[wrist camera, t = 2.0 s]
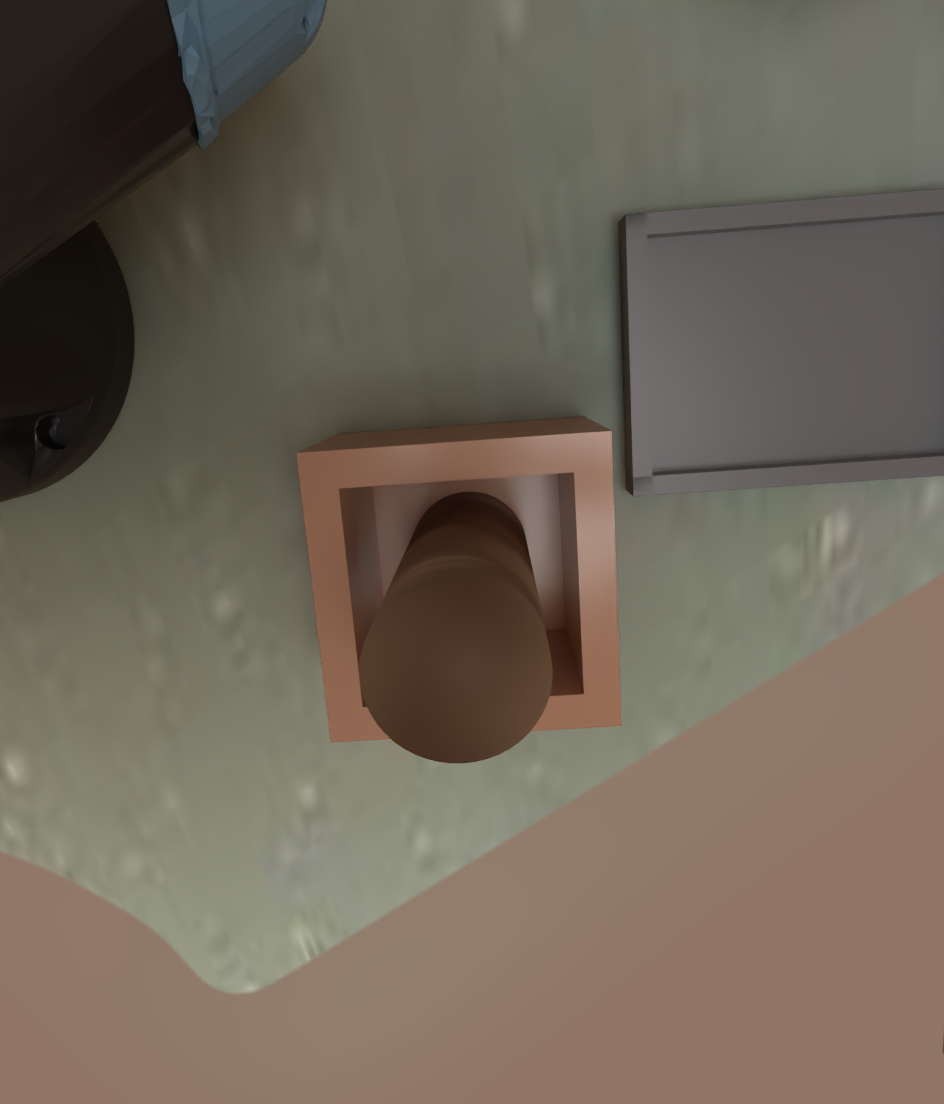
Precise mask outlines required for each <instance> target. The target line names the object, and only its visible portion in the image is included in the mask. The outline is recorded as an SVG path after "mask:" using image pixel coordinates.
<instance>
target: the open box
mask: <svg viewBox="0 0 944 1104" xmlns="http://www.w3.org/2000/svg"><path fill="white" fill-rule="evenodd" d="M296 455H297V463H298V471H299V480H300V488H301V496H302V505H303V513H304V522H305V530H306V538H307V547H308V555H309V563H310V572H311V580H312V588H313V597H314V605H315V614H316V622H317V630H318V639H319V647H320V655H321V664H322V672H323V680H324V689H325V697H326V706H327V714H328V722H329V731H330V739H331V742H344V741H362V740H380V739H391V738H389V737H388V736H387V735H386V734H385V733H384V732H383V731H382V729H381V728H380V727H379V726H378V725H377V723H376V722H375V720H374V719H373V717H372V716H371V714H370V712H369V710H368V708H367V706H366V704H365V701H364V698H363V695H362V691H361V686H360V679H359V664H360V656H361V651H362V647H363V644H364V641H365V639H366V636H367V634H368V632H369V629H370V627H371V625H372V623H373V621H374V618H375V616H376V614H377V612H378V610H379V608H380V605H381V603H382V601H383V599H384V597H385V594H386V592H387V590H388V588H389V586H390V584H391V581H392V579H393V577H394V575H395V573H396V570H397V568H398V566H399V564H400V562H401V560H402V557H403V555H404V553H405V551H406V549H407V546H408V544H409V542H410V540H411V538H412V536H413V533H414V531H415V529H416V527H417V525H418V523H419V521H420V519H421V517H422V516H423V515H424V513H425V512H426V511H427V510H428V509H429V508H430V507H431V506H432V505H433V504H434V503H436V502H437V501H438V500H440V499H442V498H444V497H446V496H448V495H451V494H455V493H458V492H481V493H485V494H488V495H491V496H493V497H495V498H497V499H499V500H501V501H502V502H504V503H505V504H506V505H507V506H508V507H510V508H511V509H512V510H513V512H514V513H515V514H516V516H517V517H518V519H519V520H520V522H521V524H522V526H523V529H524V532H525V536H526V540H527V545H528V550H529V554H530V559H531V564H532V569H533V573H534V578H535V583H536V588H537V592H538V597H539V602H540V607H541V611H542V616H543V621H544V625H545V630H546V635H547V640H548V644H549V649H550V654H551V660H552V668H553V674H552V686H551V693H550V696H549V699H548V703H547V705H546V707H545V710H544V712H543V714H542V716H541V717H540V719H539V720H538V722H537V724H536V725H535V726H534V727H533V729H532V730H531V731H538V730H556V729H574V728H591V727H609V726H621V698H620V668H619V638H618V608H617V579H616V549H615V519H614V489H613V459H612V431H611V430H609V429H607V428H605V427H603V426H601V425H600V424H598V423H596V422H594V421H592V420H590V419H588V418H586V417H570V418H556V419H542V420H528V421H514V422H500V423H485V424H471V425H457V426H443V427H429V428H415V429H401V430H387V431H373V432H359V433H345V434H338V435H336V436H333V437H331V438H329V439H327V440H324V441H322V442H320V443H318V444H315V445H313V446H311V447H309V448H306V449H304V450H302V451H300V452H297V453H296Z"/></svg>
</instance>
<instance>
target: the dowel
mask: <svg viewBox="0 0 944 1104" xmlns="http://www.w3.org/2000/svg"><path fill="white" fill-rule="evenodd" d="M552 674H553V668H552V660H551V654H550V649H549V644H548V640H547V635H546V630H545V625H544V621H543V616H542V611H541V607H540V602H539V597H538V592H537V588H536V583H535V578H534V573H533V569H532V564H531V559H530V554H529V550H528V545H527V540H526V536H525V532H524V529H523V526H522V524H521V522H520V520H519V519H518V517H517V516H516V514H515V513H514V512H513V510H512V509H511V508H510V507H508V506H507V505H506V504H505V503H504V502H502V501H501V500H499V499H497V498H495V497H493V496H491V495H488V494H485V493H481V492H458V493H455V494H451V495H448V496H446V497H444V498H442V499H440V500H438V501H437V502H436V503H434V504H433V505H432V506H431V507H430V508H429V509H428V510H427V511H426V512H425V513H424V515H423V516H422V517H421V519H420V521H419V523H418V525H417V527H416V529H415V531H414V533H413V536H412V538H411V540H410V542H409V544H408V546H407V549H406V551H405V553H404V555H403V557H402V560H401V562H400V564H399V566H398V568H397V570H396V573H395V575H394V577H393V579H392V581H391V584H390V586H389V588H388V590H387V592H386V594H385V597H384V599H383V601H382V603H381V605H380V608H379V610H378V612H377V614H376V616H375V618H374V621H373V623H372V625H371V627H370V629H369V632H368V634H367V636H366V639H365V641H364V644H363V647H362V651H361V656H360V664H359V679H360V686H361V691H362V695H363V698H364V701H365V704H366V706H367V708H368V710H369V712H370V714H371V716H372V717H373V719H374V720H375V722H376V723H377V725H378V726H379V727H380V728H381V729H382V731H383V732H384V733H385V734H386V735H387V736H388V737H389V738H391V739H392V740H393V741H394V742H395V743H397V744H398V745H400V746H401V747H402V748H404V749H406V750H408V751H410V752H411V753H413V754H415V755H418V756H421V757H423V758H426V759H430V760H434V761H438V762H445V763H469V762H476V761H480V760H485V759H488V758H491V757H493V756H496V755H499V754H501V753H502V752H504V751H506V750H508V749H510V748H511V747H513V746H514V745H516V744H517V743H518V742H520V741H521V740H522V739H523V738H524V737H525V736H526V735H527V734H528V733H529V732H530V731H531V730H532V729H533V727H534V726H535V725H536V724H537V722H538V720H539V719H540V717H541V716H542V714H543V712H544V710H545V707H546V705H547V703H548V699H549V696H550V693H551V686H552Z"/></svg>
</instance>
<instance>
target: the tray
mask: <svg viewBox="0 0 944 1104" xmlns="http://www.w3.org/2000/svg"><path fill="white" fill-rule="evenodd" d="M618 223H619V257H620V290H621V323H622V357H623V390H624V423H625V457H626V490H627V491H628V492H629V493H630V494H632V495H633V496H646V495H661V494H676V493H691V492H706V491H721V490H736V489H750V488H765V487H780V486H795V485H810V484H825V483H840V482H854V481H869V480H884V479H899V478H914V477H929V476H944V189H935V190H923V191H911V192H898V193H886V194H873V195H861V196H848V197H836V198H823V199H811V200H799V201H786V202H774V203H761V204H749V205H736V206H724V207H711V208H699V209H686V210H674V211H662V212H649V213H637V214H626V215H625V216H624V217H623V218H622V219H621V220H620V221H619V222H618Z"/></svg>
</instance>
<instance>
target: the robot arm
mask: <svg viewBox="0 0 944 1104" xmlns="http://www.w3.org/2000/svg"><path fill="white" fill-rule="evenodd" d="M326 2H327V0H0V502H2V501H6V500H9V499H13V498H17V497H20V496H24V495H28V494H31V493H34V492H36V491H39V490H41V489H44V488H46V487H48V486H50V485H52V484H54V483H56V482H58V481H59V480H61V479H63V478H64V477H66V476H67V475H69V474H70V473H72V472H73V471H74V470H75V469H77V468H78V467H79V466H80V465H81V464H82V463H84V462H85V461H86V460H87V459H88V458H89V457H90V456H91V455H92V454H93V452H94V451H95V450H96V449H97V448H98V447H99V445H100V444H101V443H102V441H103V440H104V439H105V437H106V436H107V434H108V433H109V431H110V429H111V428H112V426H113V424H114V422H115V420H116V418H117V416H118V414H119V412H120V409H121V407H122V405H123V402H124V399H125V396H126V393H127V389H128V385H129V381H130V376H131V370H132V363H133V351H134V334H133V321H132V313H131V307H130V302H129V297H128V293H127V290H126V286H125V282H124V279H123V276H122V274H121V271H120V268H119V266H118V263H117V261H116V259H115V256H114V254H113V252H112V250H111V248H110V246H109V244H108V242H107V241H106V239H105V237H104V235H103V234H102V232H101V230H100V229H99V227H98V226H97V224H96V223H95V221H94V220H95V219H96V218H97V217H99V216H100V215H101V214H103V213H104V212H106V211H107V210H108V209H110V208H111V207H112V206H114V205H115V204H116V203H118V202H119V201H120V200H122V199H123V198H125V197H126V196H127V195H129V194H130V193H131V192H133V191H134V190H135V189H137V188H138V187H140V186H141V185H142V184H144V183H145V182H146V181H148V180H149V179H150V178H152V177H153V176H154V175H156V174H157V173H159V172H160V171H161V170H163V169H164V168H165V167H167V166H168V165H169V164H171V163H172V162H174V161H175V160H176V159H178V158H179V157H180V156H182V155H183V154H184V153H186V152H187V151H189V150H190V149H191V148H193V147H194V146H195V145H198V147H199V148H200V149H201V150H203V149H204V148H205V147H207V146H208V145H210V144H211V143H213V142H214V140H215V139H216V137H217V135H218V133H219V124H220V123H221V122H222V121H224V120H225V119H226V118H227V117H228V116H230V115H231V114H232V113H233V112H234V111H236V110H237V109H238V108H239V107H240V106H242V105H243V104H244V103H245V102H246V101H248V100H249V99H250V98H251V97H252V96H254V95H255V94H256V93H257V92H258V91H260V90H261V89H262V88H263V87H264V86H266V85H267V84H268V83H269V82H270V81H272V80H273V79H274V78H275V77H276V76H278V75H279V74H280V73H281V72H282V71H284V70H285V69H286V68H287V67H288V66H290V65H291V64H292V63H293V62H294V61H296V60H297V59H298V58H299V57H300V56H301V55H302V54H303V53H304V52H305V51H306V49H307V48H308V47H309V46H310V44H311V43H312V41H313V40H314V38H315V36H316V34H317V32H318V30H319V28H320V25H321V22H322V20H323V16H324V12H325V8H326ZM943 1054H944V1039H943Z"/></svg>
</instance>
